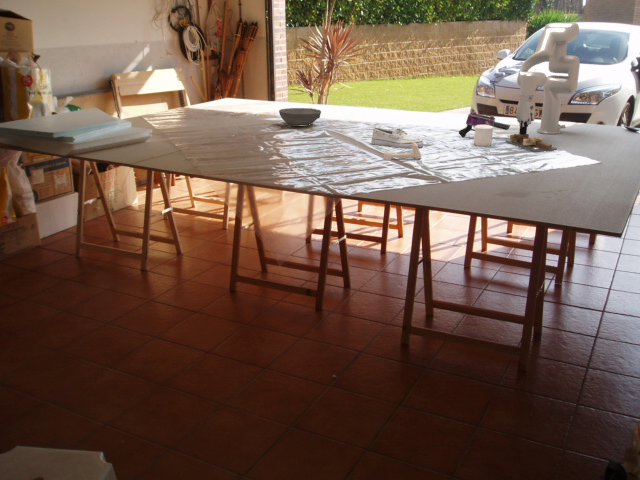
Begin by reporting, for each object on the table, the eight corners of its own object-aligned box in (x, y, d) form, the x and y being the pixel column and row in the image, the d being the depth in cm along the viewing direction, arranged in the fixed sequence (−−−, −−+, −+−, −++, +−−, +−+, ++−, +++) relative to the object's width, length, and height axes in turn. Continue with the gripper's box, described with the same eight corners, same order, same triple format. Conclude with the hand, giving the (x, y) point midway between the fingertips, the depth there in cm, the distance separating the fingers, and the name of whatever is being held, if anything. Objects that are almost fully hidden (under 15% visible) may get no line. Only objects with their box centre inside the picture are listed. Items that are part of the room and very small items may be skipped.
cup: (481, 147, 305) (483, 128, 301) (468, 144, 313) (470, 125, 310) (495, 145, 309) (497, 126, 306) (482, 142, 317) (484, 124, 314)
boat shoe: (420, 149, 304) (421, 131, 300) (367, 146, 314) (367, 128, 311) (425, 145, 313) (426, 127, 309) (373, 142, 323) (374, 124, 320)
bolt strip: (526, 140, 319) (526, 138, 318) (557, 150, 296) (557, 148, 295) (505, 142, 316) (505, 140, 315) (534, 152, 292) (534, 150, 292)
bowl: (278, 123, 383) (278, 107, 379) (318, 121, 385) (318, 106, 382) (280, 130, 359) (279, 114, 355) (323, 128, 361) (323, 112, 358)
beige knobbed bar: (386, 168, 288) (380, 149, 285) (420, 155, 286) (414, 136, 283) (387, 170, 285) (381, 151, 281) (422, 157, 283) (416, 138, 279)
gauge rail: (523, 140, 318) (524, 132, 317) (553, 150, 295) (554, 141, 293) (507, 142, 316) (508, 133, 314) (536, 152, 293) (537, 143, 291)
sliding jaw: (538, 143, 306) (539, 136, 305) (542, 144, 303) (542, 137, 302) (522, 144, 303) (523, 138, 302) (525, 145, 301) (526, 139, 299)
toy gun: (503, 147, 326) (512, 121, 320) (457, 136, 329) (465, 110, 323) (502, 146, 329) (511, 120, 323) (457, 135, 332) (465, 109, 326)
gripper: (542, 100, 295) (537, 136, 301) (524, 96, 308) (520, 131, 314) (529, 100, 293) (524, 137, 299) (512, 97, 306) (508, 132, 312)
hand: (522, 134), depth 307 cm, fingers closed
